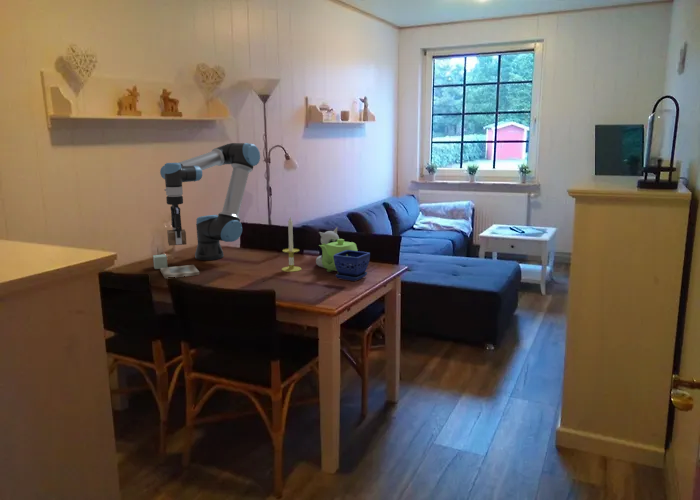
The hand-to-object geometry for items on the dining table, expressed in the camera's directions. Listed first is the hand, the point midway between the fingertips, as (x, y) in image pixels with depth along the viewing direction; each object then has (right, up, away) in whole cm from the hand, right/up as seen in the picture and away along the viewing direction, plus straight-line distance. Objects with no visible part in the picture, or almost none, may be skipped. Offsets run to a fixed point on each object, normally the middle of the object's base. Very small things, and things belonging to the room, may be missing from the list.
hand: (177, 242), depth 268 cm
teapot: (+76, -14, +8) cm, 77 cm away
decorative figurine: (+73, -12, +18) cm, 76 cm away
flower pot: (+84, -17, -7) cm, 86 cm away
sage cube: (-13, -12, +14) cm, 23 cm away
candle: (+54, -13, +10) cm, 57 cm away
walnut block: (0, 0, 0) cm, 0 cm away
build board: (0, -15, +3) cm, 15 cm away
